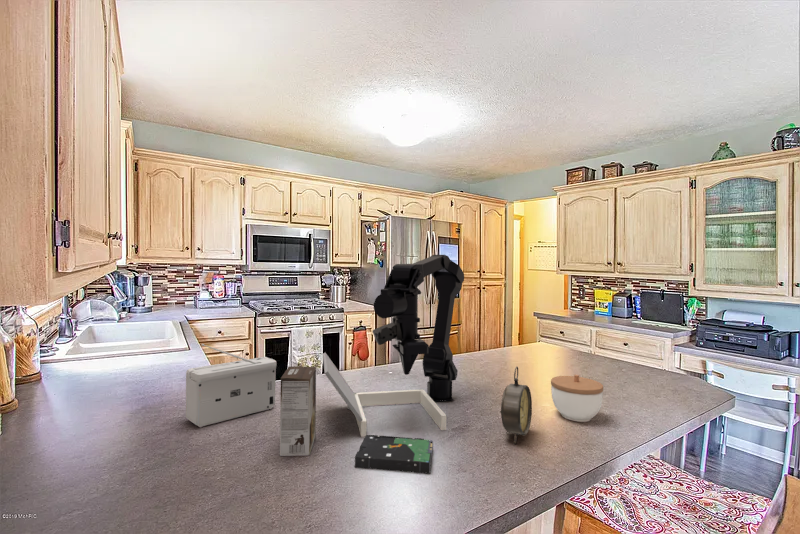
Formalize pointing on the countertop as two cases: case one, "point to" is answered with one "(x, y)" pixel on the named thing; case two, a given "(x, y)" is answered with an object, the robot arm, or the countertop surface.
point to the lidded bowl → (576, 397)
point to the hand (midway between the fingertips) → (406, 374)
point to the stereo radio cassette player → (229, 389)
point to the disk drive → (395, 454)
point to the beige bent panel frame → (379, 398)
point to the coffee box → (297, 411)
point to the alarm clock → (516, 408)
